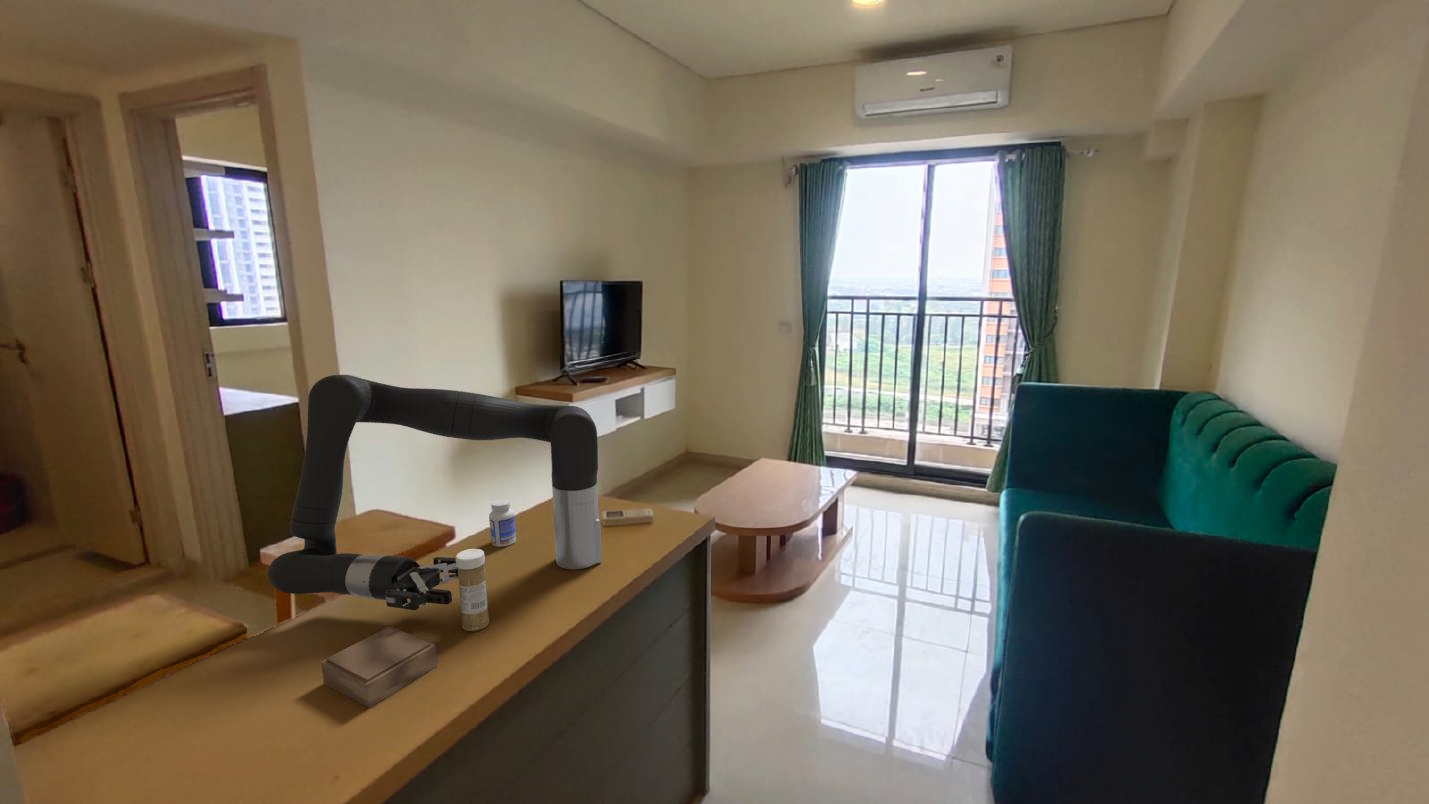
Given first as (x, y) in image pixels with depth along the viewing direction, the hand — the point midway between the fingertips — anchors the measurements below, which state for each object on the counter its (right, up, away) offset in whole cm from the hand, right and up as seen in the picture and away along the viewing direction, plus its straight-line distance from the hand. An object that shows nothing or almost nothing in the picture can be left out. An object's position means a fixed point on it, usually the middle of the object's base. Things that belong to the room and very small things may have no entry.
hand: (465, 585), depth 105 cm
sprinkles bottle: (+1, -8, +1) cm, 8 cm away
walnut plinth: (-8, -10, -12) cm, 18 cm away
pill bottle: (-6, -1, +35) cm, 36 cm away
